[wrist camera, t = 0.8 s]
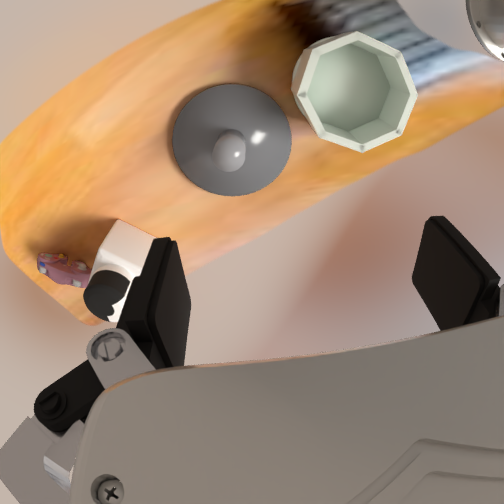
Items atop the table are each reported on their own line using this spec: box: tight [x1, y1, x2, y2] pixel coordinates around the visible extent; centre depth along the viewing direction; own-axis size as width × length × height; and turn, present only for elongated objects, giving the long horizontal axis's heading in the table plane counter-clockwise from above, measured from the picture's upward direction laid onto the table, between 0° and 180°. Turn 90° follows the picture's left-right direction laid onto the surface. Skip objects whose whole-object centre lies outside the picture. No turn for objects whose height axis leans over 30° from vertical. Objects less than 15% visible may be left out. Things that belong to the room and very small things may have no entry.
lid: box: [172, 84, 292, 196], centre depth 32 cm, size 13×13×6 cm
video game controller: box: [37, 253, 92, 288], centre depth 42 cm, size 10×5×7 cm, turn 68°
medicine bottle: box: [83, 219, 156, 322], centre depth 38 cm, size 7×7×12 cm
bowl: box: [291, 31, 418, 153], centre depth 28 cm, size 12×12×6 cm
